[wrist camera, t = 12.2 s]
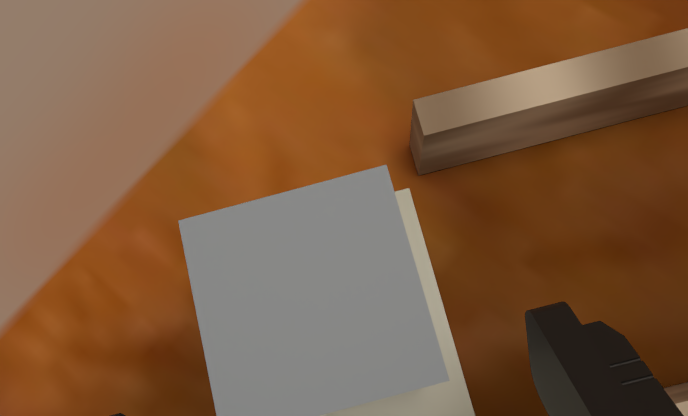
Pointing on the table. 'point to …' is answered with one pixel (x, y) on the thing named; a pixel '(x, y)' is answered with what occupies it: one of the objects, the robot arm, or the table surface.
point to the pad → (452, 396)
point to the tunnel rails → (553, 109)
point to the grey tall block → (310, 300)
